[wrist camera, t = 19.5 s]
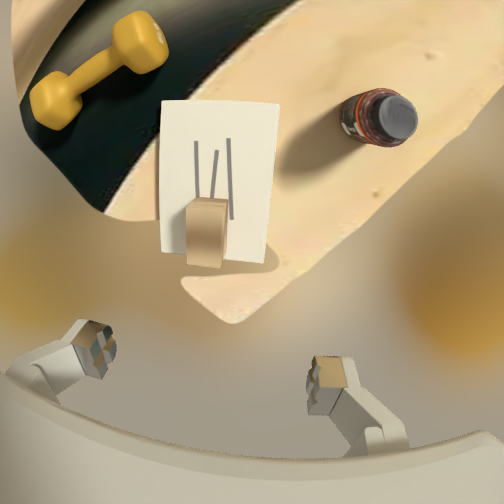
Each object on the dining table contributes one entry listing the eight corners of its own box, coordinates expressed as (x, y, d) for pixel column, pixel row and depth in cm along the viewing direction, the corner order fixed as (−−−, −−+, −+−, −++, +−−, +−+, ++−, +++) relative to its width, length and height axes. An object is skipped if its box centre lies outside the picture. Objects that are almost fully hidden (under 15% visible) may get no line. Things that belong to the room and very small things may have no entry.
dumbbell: (71, 132, 33) (34, 138, 25) (57, 84, 29) (21, 83, 22) (180, 68, 29) (155, 54, 21) (161, 16, 25) (135, -5, 18)
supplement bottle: (340, 143, 31) (370, 151, 21) (335, 95, 29) (362, 82, 19) (385, 141, 31) (429, 150, 20) (380, 95, 28) (423, 86, 18)
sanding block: (196, 196, 34) (185, 207, 30) (228, 199, 34) (221, 210, 30) (196, 248, 37) (186, 264, 33) (226, 251, 37) (219, 268, 33)
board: (166, 101, 31) (161, 100, 29) (279, 105, 30) (280, 104, 29) (164, 247, 39) (161, 252, 38) (264, 258, 39) (263, 263, 37)
